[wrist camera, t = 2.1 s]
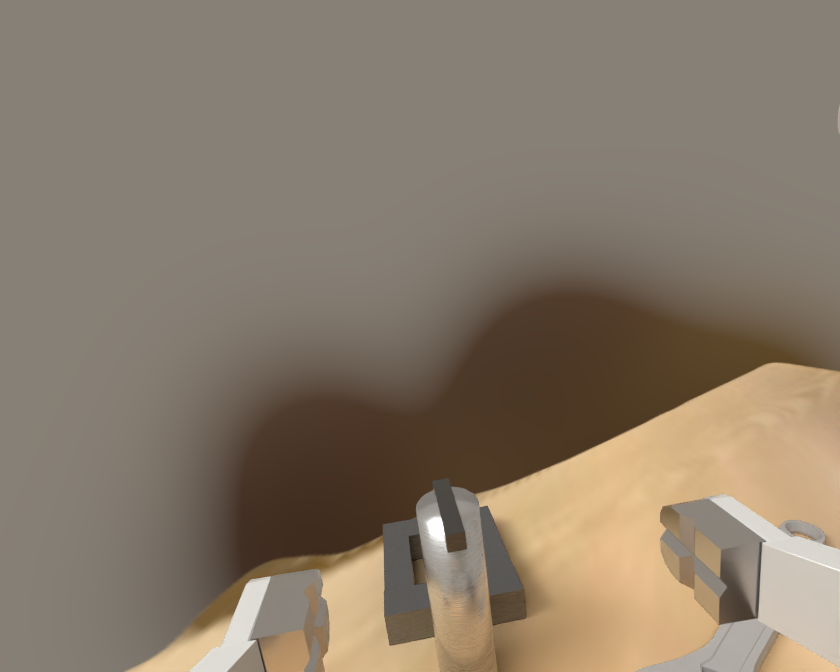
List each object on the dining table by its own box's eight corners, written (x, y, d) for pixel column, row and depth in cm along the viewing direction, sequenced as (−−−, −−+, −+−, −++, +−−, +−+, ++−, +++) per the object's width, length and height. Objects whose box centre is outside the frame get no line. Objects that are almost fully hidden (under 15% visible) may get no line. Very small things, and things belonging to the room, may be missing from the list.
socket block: (490, 528, 39) (487, 505, 39) (526, 618, 30) (523, 589, 29) (386, 547, 39) (382, 524, 38) (389, 645, 29) (384, 616, 29)
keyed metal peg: (488, 647, 28) (468, 474, 25) (511, 729, 23) (489, 527, 20) (437, 657, 28) (412, 484, 25) (450, 743, 23) (420, 540, 20)
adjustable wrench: (785, 530, 35) (786, 512, 35) (897, 576, 30) (900, 555, 30) (603, 727, 23) (602, 702, 23) (738, 865, 18) (739, 835, 17)
